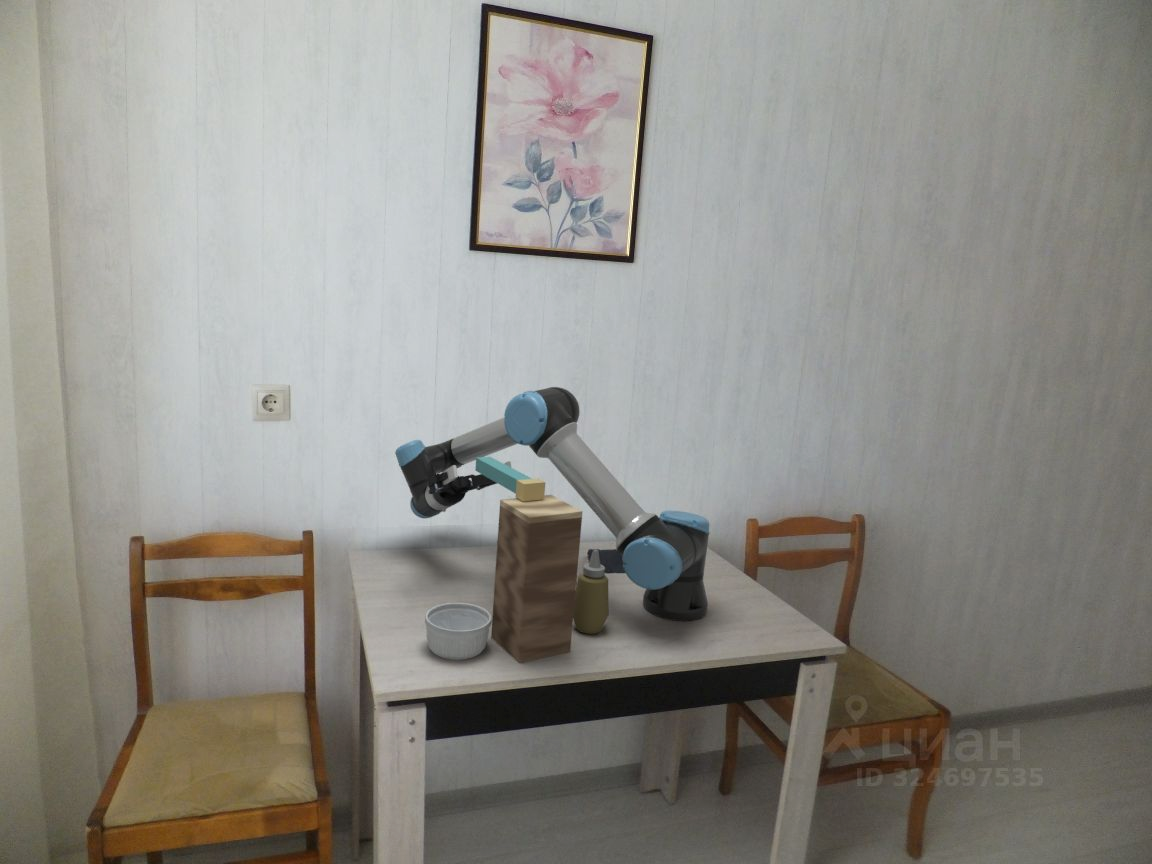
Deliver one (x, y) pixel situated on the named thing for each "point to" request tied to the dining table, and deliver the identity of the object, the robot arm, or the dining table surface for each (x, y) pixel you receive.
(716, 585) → the dining table surface
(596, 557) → the squeeze bottle
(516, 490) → the peg
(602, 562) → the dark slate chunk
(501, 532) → the post
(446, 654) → the ramekin
